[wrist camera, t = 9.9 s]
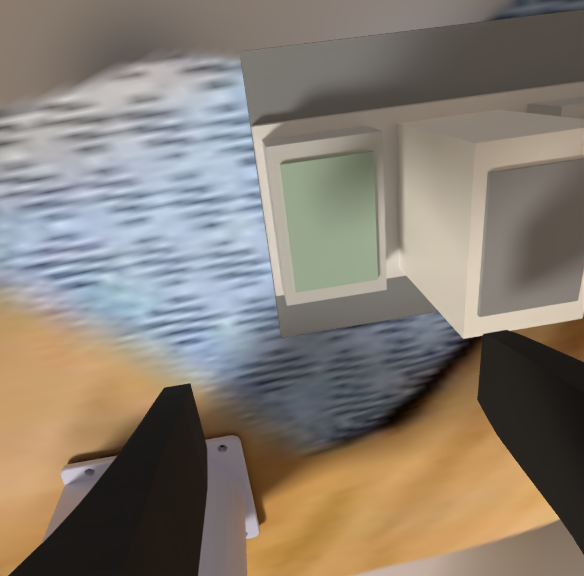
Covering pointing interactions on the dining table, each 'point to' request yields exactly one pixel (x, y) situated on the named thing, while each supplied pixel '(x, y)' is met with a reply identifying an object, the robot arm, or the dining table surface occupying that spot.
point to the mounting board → (397, 83)
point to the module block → (494, 218)
